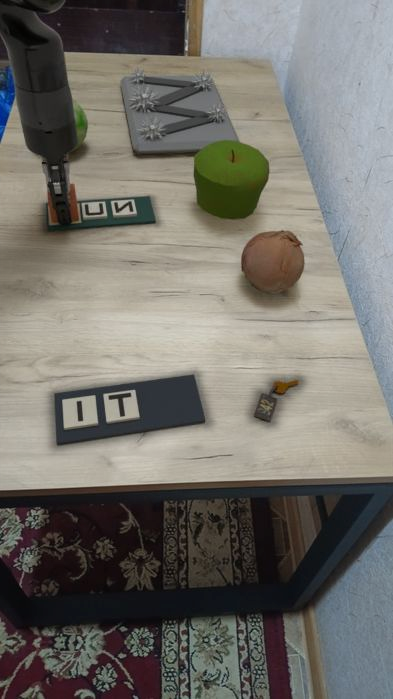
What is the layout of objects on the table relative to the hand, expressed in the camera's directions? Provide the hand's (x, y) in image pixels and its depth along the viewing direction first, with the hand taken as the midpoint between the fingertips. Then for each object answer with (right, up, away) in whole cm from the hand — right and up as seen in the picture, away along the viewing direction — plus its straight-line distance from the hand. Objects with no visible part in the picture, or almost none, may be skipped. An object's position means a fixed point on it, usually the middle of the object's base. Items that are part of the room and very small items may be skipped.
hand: (64, 212), depth 83 cm
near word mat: (+14, -30, -21) cm, 39 cm away
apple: (+27, +2, +5) cm, 28 cm away
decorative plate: (+18, +27, +23) cm, 40 cm away
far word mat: (+6, 0, +2) cm, 6 cm away
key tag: (+33, -30, -19) cm, 48 cm away
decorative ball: (-3, +16, +13) cm, 21 cm away
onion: (+33, -13, -5) cm, 36 cm away
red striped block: (0, 0, 0) cm, 0 cm away
